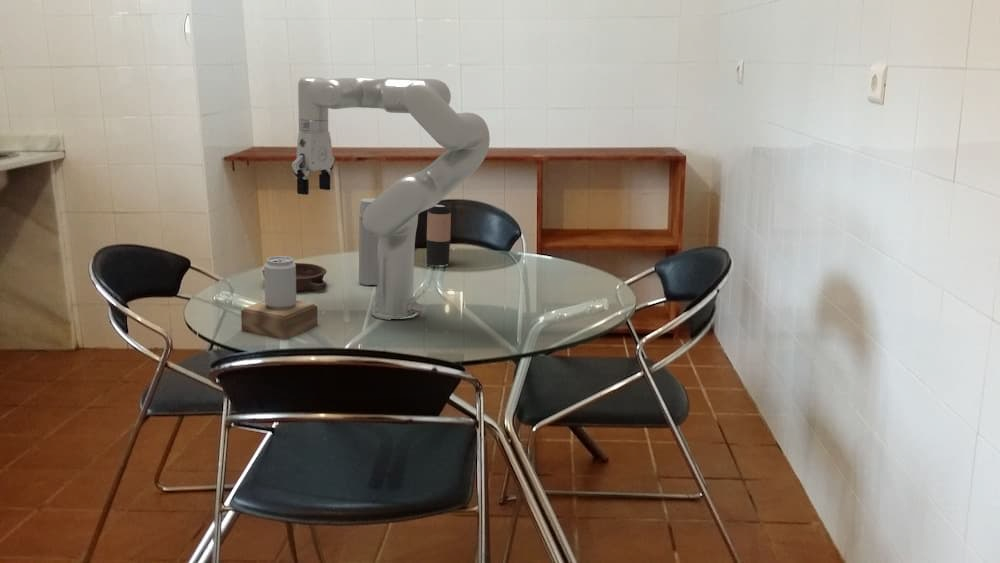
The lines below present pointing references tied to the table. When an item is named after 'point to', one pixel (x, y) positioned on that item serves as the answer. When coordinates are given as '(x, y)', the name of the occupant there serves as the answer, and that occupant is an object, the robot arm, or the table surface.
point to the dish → (309, 277)
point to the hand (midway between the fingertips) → (314, 191)
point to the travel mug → (438, 234)
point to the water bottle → (367, 250)
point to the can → (280, 282)
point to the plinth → (279, 319)
